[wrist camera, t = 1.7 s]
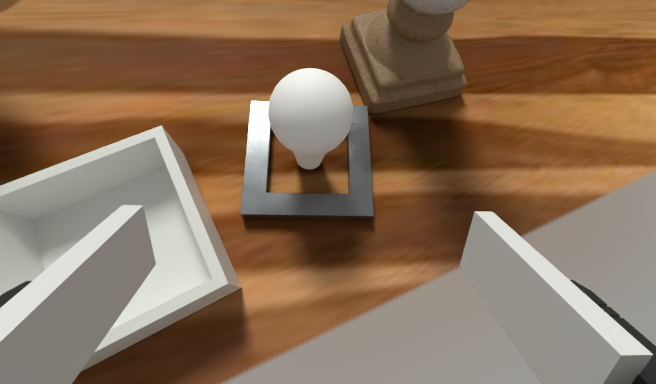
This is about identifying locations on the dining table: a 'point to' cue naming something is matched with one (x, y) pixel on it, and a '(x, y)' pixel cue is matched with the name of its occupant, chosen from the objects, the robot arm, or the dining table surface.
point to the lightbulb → (310, 114)
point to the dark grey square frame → (306, 204)
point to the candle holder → (404, 54)
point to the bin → (99, 203)
